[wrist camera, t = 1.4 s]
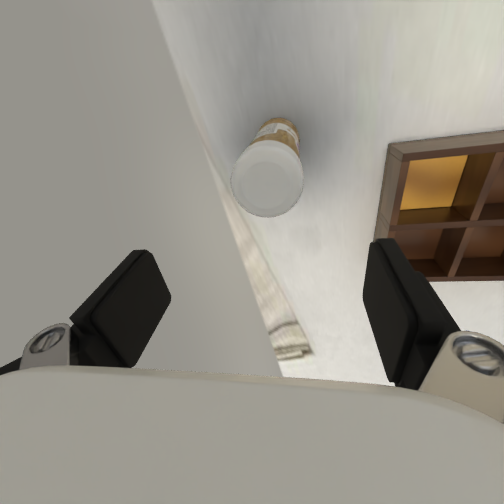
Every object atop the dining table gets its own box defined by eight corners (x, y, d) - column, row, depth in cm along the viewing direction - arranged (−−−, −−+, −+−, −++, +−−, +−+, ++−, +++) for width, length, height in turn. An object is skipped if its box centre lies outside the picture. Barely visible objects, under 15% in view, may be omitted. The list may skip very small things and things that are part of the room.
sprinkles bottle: (305, 152, 26) (314, 205, 15) (266, 169, 28) (249, 229, 17) (290, 107, 24) (287, 131, 13) (248, 129, 26) (215, 166, 15)
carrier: (388, 143, 25) (403, 153, 21) (678, 109, 20) (753, 115, 17) (370, 262, 33) (378, 282, 29) (573, 255, 29) (609, 279, 25)
